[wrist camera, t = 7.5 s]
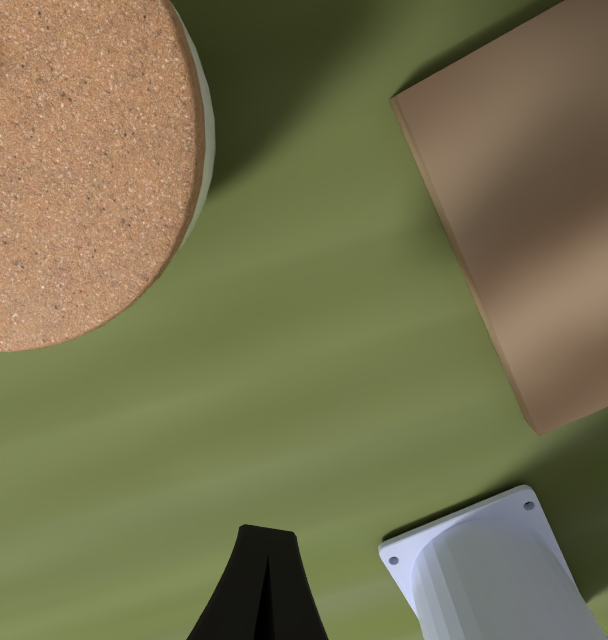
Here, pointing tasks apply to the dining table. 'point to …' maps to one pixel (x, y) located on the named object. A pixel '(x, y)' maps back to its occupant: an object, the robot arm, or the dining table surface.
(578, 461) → the dining table surface
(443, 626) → the robot arm
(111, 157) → the lidded jar
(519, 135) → the board
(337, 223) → the dining table surface
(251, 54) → the dining table surface
